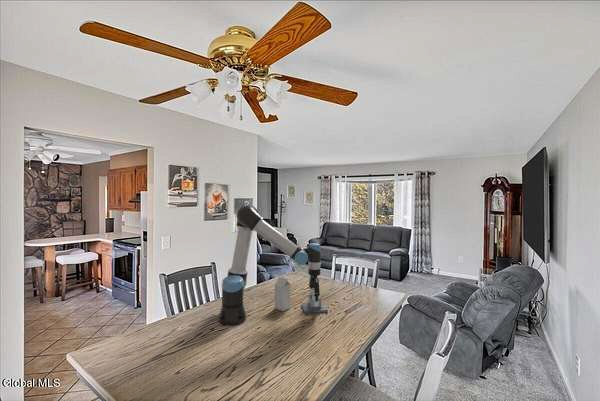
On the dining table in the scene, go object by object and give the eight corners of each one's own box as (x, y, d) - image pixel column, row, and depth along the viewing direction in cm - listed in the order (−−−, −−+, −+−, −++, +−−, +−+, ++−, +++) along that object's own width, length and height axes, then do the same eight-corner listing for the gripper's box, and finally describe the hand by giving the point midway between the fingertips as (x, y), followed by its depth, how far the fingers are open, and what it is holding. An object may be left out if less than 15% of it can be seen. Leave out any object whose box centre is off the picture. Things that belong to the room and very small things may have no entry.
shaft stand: (305, 313, 171) (305, 300, 171) (301, 305, 184) (301, 292, 184) (327, 312, 173) (328, 299, 173) (322, 304, 187) (322, 291, 187)
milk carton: (283, 311, 174) (283, 280, 174) (274, 308, 178) (274, 278, 178) (290, 308, 179) (290, 277, 179) (281, 305, 184) (282, 275, 184)
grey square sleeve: (309, 308, 175) (310, 298, 175) (307, 304, 182) (307, 295, 182) (321, 308, 176) (321, 298, 176) (318, 304, 183) (318, 294, 183)
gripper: (325, 273, 167) (324, 309, 167) (315, 263, 192) (315, 295, 192) (312, 273, 166) (312, 310, 166) (304, 264, 190) (304, 295, 190)
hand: (313, 302), depth 179 cm, fingers open, 13 cm apart
